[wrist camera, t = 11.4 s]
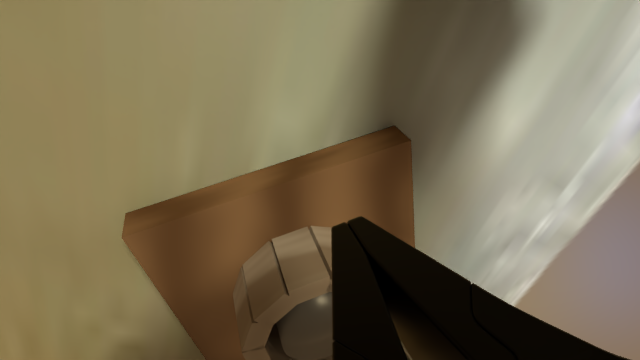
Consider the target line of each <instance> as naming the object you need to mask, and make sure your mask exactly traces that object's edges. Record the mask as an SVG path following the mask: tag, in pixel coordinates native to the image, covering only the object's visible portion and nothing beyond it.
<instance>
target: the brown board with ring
mask: <svg viewBox="0 0 640 360" xmlns="http://www.w3.org/2000/svg"><path fill="white" fill-rule="evenodd" d="M359 216H362V217H364V218H366V219H368V220H369V221H371V222H373V223H374V224H376V225H378V226H379V227H381V228H383V229H384V230H386V231H387V232H389V233H391V234H392V235H394V236H396V237H397V238H399V239H401V240H402V241H404V242H406V243H407V244H409V245H411V246H412V247H414V248H415V237H414V209H413V181H412V154H411V140H410V139H409V138H408V137H407V136H406V135H404V134H403V133H402V132H401V131H400V130H399V129H398V128H397V127H395V126H392V127H389V128H386V129H383V130H380V131H377V132H374V133H371V134H368V135H364V136H361V137H358V138H355V139H352V140H349V141H346V142H343V143H340V144H337V145H334V146H331V147H328V148H325V149H322V150H319V151H316V152H312V153H309V154H306V155H303V156H300V157H297V158H294V159H291V160H288V161H285V162H282V163H279V164H276V165H273V166H270V167H267V168H264V169H260V170H257V171H254V172H251V173H248V174H245V175H242V176H239V177H236V178H233V179H230V180H227V181H224V182H221V183H218V184H215V185H212V186H208V187H205V188H202V189H199V190H196V191H193V192H190V193H187V194H184V195H181V196H178V197H175V198H172V199H169V200H166V201H163V202H160V203H156V204H153V205H150V206H147V207H144V208H141V209H138V210H135V211H132V212H129V213H126V215H125V221H124V227H123V233H122V239H123V240H124V242H125V243H126V244H127V246H128V247H129V249H130V250H131V252H132V253H133V255H134V256H135V257H136V259H137V260H138V262H139V263H140V265H141V266H142V268H143V269H144V270H145V272H146V273H147V275H148V276H149V278H150V279H151V281H152V282H153V284H154V285H155V286H156V288H157V289H158V291H159V292H160V294H161V295H162V297H163V298H164V299H165V301H166V302H167V304H168V305H169V307H170V308H171V310H172V311H173V312H174V314H175V315H176V317H177V318H178V320H179V321H180V323H181V324H182V325H183V327H184V328H185V330H186V331H187V333H188V334H189V336H190V337H191V338H192V340H193V341H194V343H195V344H196V346H197V347H198V349H199V350H200V351H201V353H202V354H203V356H204V357H205V359H206V360H297V359H294V358H291V357H290V356H288V355H287V354H286V353H285V352H284V350H283V347H282V344H281V340H280V336H279V332H278V328H277V324H276V322H277V321H279V320H280V319H281V318H282V317H283V316H284V315H286V314H287V313H288V312H289V311H290V310H291V309H293V308H294V307H295V306H296V305H297V304H300V303H302V302H305V301H307V300H310V299H312V298H315V297H318V296H320V295H323V294H325V293H328V292H332V252H331V228H332V227H333V226H335V225H338V224H340V223H343V222H346V223H347V222H348V221H349V220H351V219H353V218H356V217H359ZM317 360H332V355H331V356H328V357H325V358H322V359H317Z"/></svg>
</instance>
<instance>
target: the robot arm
mask: <svg viewBox="0 0 640 360" xmlns="http://www.w3.org/2000/svg"><path fill="white" fill-rule="evenodd" d="M331 252H332V340H333V343H332V360H408V359H407V357H406V354H405V352H404V349H403V346H402V344H401V342H402V343H403V345H404V347H405V348H406V350H407V351H408V353H409V355H410V356H411V358H412V360H630V359H627V358H624V357H621V356H618V355H615V354H613V353H610V352H607V351H605V350H602V349H601V348H598V347H596V346H594V345H592V344H590V343H588V342H586V341H583V340H581V339H579V338H577V337H575V336H573V335H571V334H569V333H567V332H565V331H563V330H561V329H559V328H556V327H554V326H552V325H550V324H548V323H546V322H544V321H542V320H539V319H538V318H536V317H534V316H532V315H530V314H527V313H526V312H524V311H522V310H520V309H518V308H516V307H514V306H512V305H510V304H508V303H506V302H505V301H503V300H501V299H499V298H498V297H496V296H494V295H492V294H491V293H489V292H487V291H485V290H484V289H482V288H480V287H479V286H477V285H476V284H474V283H473V284H471V282H470V281H469V280H467V279H465V278H464V277H462V276H460V275H459V274H457V273H455V272H454V271H452V270H450V269H449V268H447V267H445V266H444V265H442V264H441V263H439V262H437V261H436V260H434V259H432V258H431V257H429V256H427V255H426V254H424V253H422V252H421V251H419V250H417V249H416V248H414V247H412V246H411V245H409V244H407V243H406V242H404V241H402V240H401V239H399V238H397V237H396V236H394V235H392V234H391V233H389V232H387V231H386V230H384V229H383V228H381V227H379V226H378V225H376V224H374V223H373V222H371V221H369V220H368V219H366V218H364V217H362V216H359V217H356V218H353V219H351V220H349V221H348V222H347V223H346V222H343V223H340V224H338V225H335V226H333V227H332V228H331ZM399 338H400V339H399ZM400 340H401V341H400Z"/></svg>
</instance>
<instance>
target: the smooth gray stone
mask: <svg viewBox="0 0 640 360" xmlns="http://www.w3.org/2000/svg"><path fill="white" fill-rule="evenodd" d="M276 324H277V328H278V332H279V336H280V340H281V344H282V347H283V350H284V352H285V353H286V354H287V355H288V356H290V357H291V358H294V359H297V360H317V359H322V358H325V357H328V356H331V355H332V343H333V340H332V292H328V293H325V294H323V295H320V296H318V297H315V298H312V299H310V300H307V301H305V302H302V303H300V304H297V305H296V306H295V307H294V308H293V309H291V310H290V311H289V312H288V313H287V314H286V315H284V316H283V317H282V318H281V319H280V320H279V321H277V322H276Z"/></svg>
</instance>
